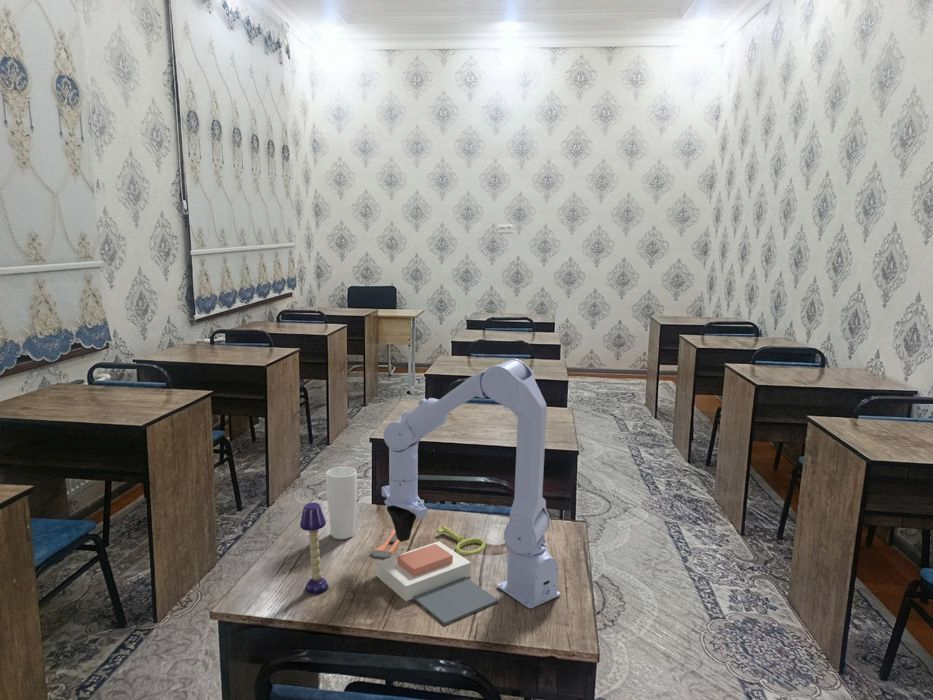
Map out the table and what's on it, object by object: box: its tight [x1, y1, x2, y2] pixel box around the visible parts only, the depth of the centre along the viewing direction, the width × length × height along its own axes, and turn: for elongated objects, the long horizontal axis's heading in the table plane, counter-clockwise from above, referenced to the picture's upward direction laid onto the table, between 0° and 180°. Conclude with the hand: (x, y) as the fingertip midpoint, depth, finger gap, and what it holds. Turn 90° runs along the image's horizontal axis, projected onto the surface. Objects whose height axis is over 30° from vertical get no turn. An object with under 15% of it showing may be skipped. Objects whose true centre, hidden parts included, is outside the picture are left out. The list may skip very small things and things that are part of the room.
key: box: [435, 525, 487, 556], centre depth 137 cm, size 7×12×2 cm, turn 59°
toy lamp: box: [299, 502, 329, 595], centre depth 117 cm, size 5×5×17 cm
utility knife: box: [370, 529, 400, 560], centre depth 139 cm, size 4×1×18 cm
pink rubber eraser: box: [397, 544, 453, 576], centre depth 122 cm, size 6×9×2 cm, turn 127°
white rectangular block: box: [375, 541, 472, 602], centre depth 123 cm, size 11×15×3 cm
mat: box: [412, 577, 499, 626], centre depth 115 cm, size 10×12×1 cm
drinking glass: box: [325, 466, 358, 540], centre depth 139 cm, size 7×7×15 cm
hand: (403, 539), depth 128 cm, fingers closed
